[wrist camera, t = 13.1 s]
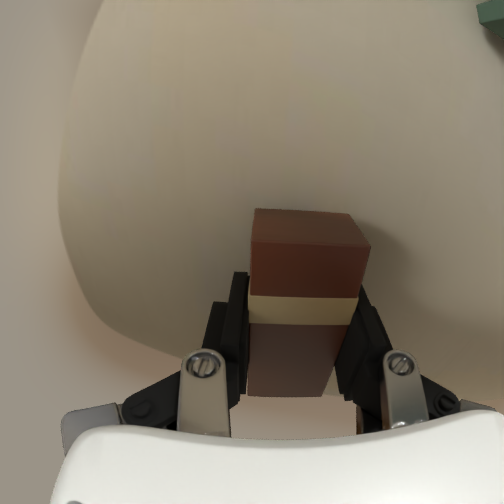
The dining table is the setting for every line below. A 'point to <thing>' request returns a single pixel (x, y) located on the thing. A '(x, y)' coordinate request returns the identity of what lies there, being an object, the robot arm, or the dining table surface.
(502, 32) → the drawer
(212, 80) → the dining table surface
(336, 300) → the brown banded block
